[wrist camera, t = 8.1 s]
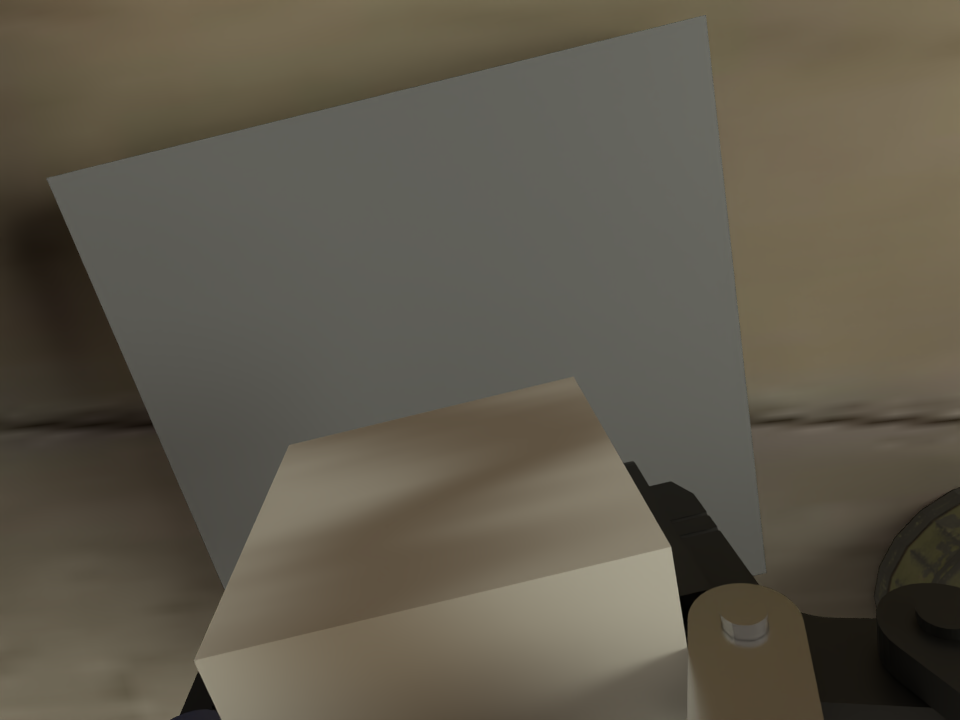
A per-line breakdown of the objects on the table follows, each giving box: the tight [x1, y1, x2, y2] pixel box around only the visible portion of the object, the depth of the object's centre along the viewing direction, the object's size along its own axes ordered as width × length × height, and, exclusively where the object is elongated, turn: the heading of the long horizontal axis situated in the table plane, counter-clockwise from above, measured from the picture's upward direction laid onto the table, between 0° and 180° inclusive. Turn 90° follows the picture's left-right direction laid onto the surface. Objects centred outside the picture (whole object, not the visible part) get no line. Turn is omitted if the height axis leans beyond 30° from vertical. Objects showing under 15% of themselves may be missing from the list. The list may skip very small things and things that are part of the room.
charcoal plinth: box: [47, 15, 766, 590], centre depth 21 cm, size 16×16×4 cm
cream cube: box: [194, 377, 688, 720], centre depth 10 cm, size 5×5×5 cm
